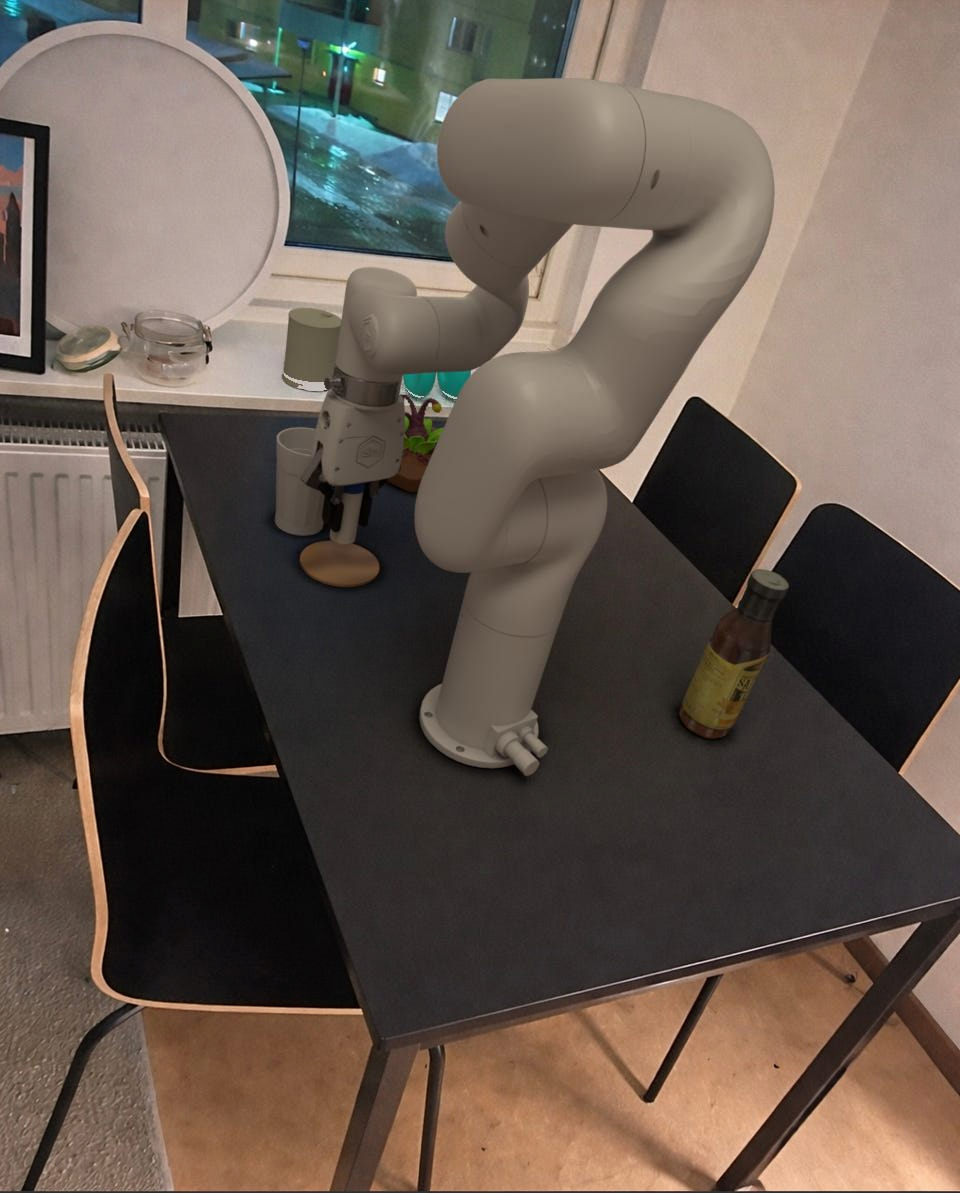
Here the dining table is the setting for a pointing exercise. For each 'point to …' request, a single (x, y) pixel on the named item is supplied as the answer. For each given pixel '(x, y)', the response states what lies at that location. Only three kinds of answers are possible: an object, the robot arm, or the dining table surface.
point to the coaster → (339, 564)
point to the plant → (416, 446)
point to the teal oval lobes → (425, 382)
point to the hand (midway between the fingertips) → (344, 522)
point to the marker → (349, 514)
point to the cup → (296, 484)
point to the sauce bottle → (733, 658)
